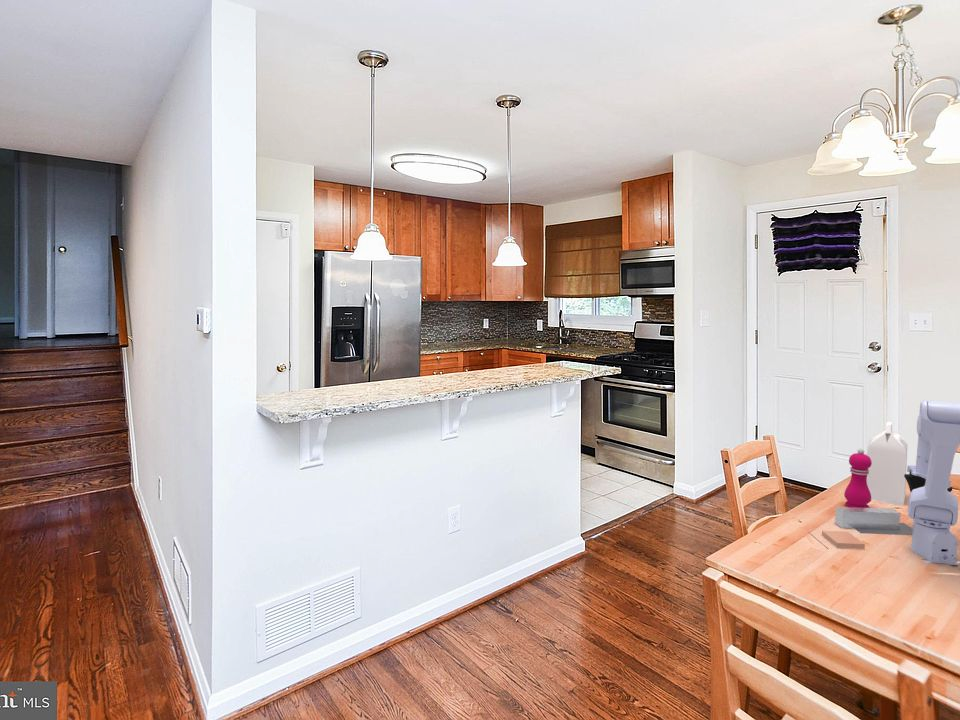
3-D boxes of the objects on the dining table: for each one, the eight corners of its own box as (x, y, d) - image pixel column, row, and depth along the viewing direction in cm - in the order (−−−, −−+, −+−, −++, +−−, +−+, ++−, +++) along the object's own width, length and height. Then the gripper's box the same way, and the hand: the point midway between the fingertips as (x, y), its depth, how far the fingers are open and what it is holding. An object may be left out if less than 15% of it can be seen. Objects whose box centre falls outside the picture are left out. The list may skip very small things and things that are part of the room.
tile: (847, 537, 156) (864, 549, 148) (821, 536, 157) (836, 548, 149) (848, 531, 156) (864, 544, 148) (822, 530, 157) (837, 542, 149)
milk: (864, 489, 198) (870, 418, 195) (905, 497, 190) (911, 422, 188) (861, 499, 188) (866, 424, 186) (903, 507, 181) (910, 429, 178)
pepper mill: (874, 514, 175) (879, 452, 173) (849, 512, 176) (853, 451, 174) (863, 506, 182) (868, 446, 180) (839, 504, 183) (843, 445, 181)
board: (924, 538, 157) (924, 535, 157) (860, 535, 159) (860, 533, 159) (903, 525, 166) (903, 523, 166) (843, 523, 168) (843, 520, 168)
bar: (898, 529, 161) (900, 513, 161) (841, 527, 162) (842, 511, 162) (890, 524, 165) (892, 508, 164) (834, 523, 166) (835, 507, 165)
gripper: (897, 450, 164) (894, 495, 165) (932, 464, 149) (928, 513, 151) (923, 451, 163) (919, 495, 164) (960, 465, 149) (956, 514, 150)
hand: (925, 504), depth 158 cm, fingers open, 7 cm apart
